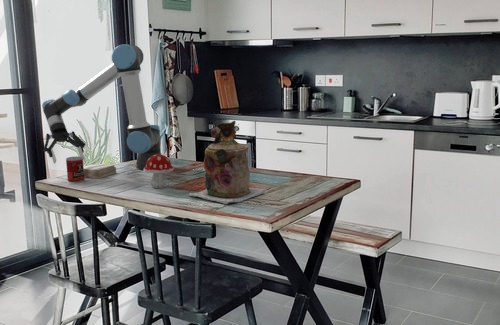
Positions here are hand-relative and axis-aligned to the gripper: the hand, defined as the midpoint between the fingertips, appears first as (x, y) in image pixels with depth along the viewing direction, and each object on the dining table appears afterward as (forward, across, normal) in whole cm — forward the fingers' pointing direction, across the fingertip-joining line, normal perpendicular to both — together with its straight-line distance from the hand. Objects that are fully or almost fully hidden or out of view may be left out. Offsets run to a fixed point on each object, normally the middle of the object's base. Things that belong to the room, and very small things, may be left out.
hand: (69, 160), depth 260 cm
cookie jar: (+60, -41, +47) cm, 87 cm away
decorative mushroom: (+37, -26, +24) cm, 51 cm away
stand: (+6, -14, -8) cm, 17 cm away
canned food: (+10, -1, -3) cm, 11 cm away
